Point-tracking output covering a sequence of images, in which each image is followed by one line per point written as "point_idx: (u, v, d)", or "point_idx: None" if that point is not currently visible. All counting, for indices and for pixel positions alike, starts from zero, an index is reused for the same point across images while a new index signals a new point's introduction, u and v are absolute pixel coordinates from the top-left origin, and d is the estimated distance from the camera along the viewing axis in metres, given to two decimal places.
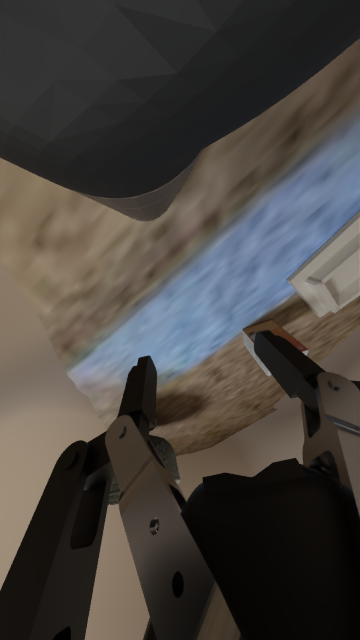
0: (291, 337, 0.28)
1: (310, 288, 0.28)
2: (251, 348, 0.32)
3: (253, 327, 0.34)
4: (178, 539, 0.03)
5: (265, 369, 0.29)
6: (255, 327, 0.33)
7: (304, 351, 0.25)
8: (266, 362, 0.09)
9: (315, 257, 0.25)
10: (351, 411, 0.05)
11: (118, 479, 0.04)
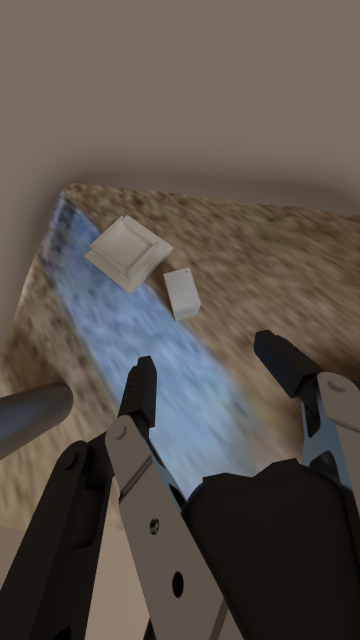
0: None
1: (137, 274, 0.35)
2: (185, 315, 0.30)
3: None
4: (178, 539, 0.03)
5: (193, 307, 0.25)
6: None
7: (164, 277, 0.25)
8: (266, 362, 0.09)
9: (115, 282, 0.36)
10: (351, 411, 0.05)
11: (118, 479, 0.04)
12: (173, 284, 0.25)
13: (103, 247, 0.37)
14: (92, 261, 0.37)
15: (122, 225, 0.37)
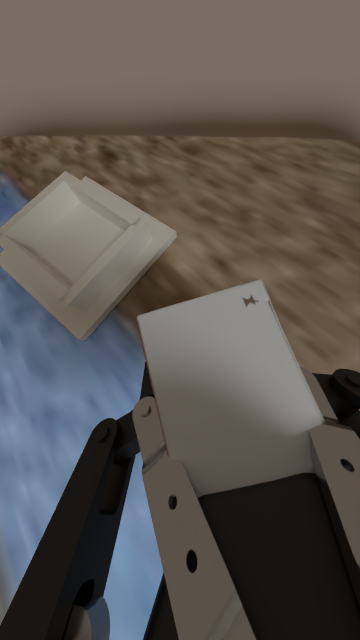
0: None
1: (98, 294, 0.16)
2: None
3: None
4: (178, 539, 0.03)
5: None
6: None
7: (143, 336, 0.05)
8: None
9: (50, 312, 0.16)
10: None
11: (142, 451, 0.05)
12: (190, 374, 0.05)
13: (31, 239, 0.18)
14: (8, 269, 0.18)
15: (70, 192, 0.18)
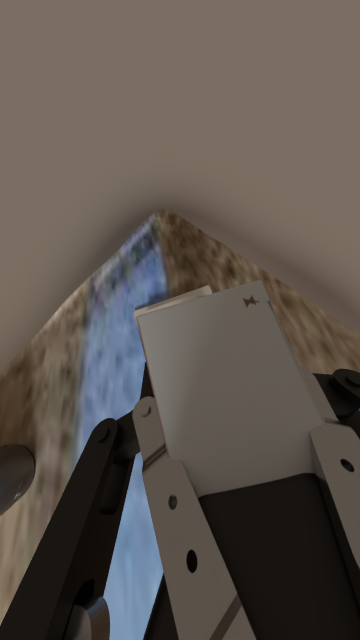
0: None
1: None
2: None
3: None
4: (178, 539, 0.03)
5: None
6: None
7: (144, 336, 0.05)
8: None
9: None
10: None
11: (142, 451, 0.05)
12: (190, 375, 0.05)
13: None
14: None
15: None
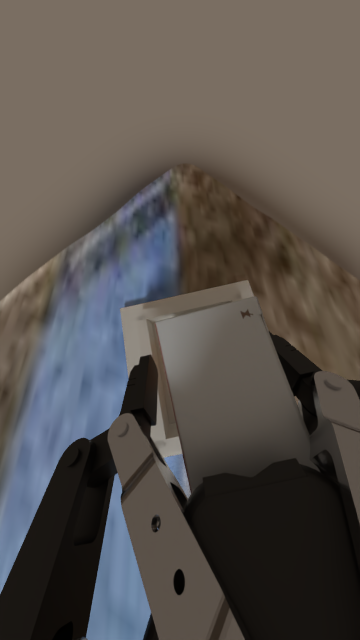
0: None
1: None
2: None
3: None
4: (178, 539, 0.03)
5: None
6: None
7: (161, 338, 0.07)
8: None
9: None
10: (347, 410, 0.05)
11: (120, 476, 0.05)
12: (196, 370, 0.06)
13: (161, 319, 0.17)
14: (126, 330, 0.17)
15: None
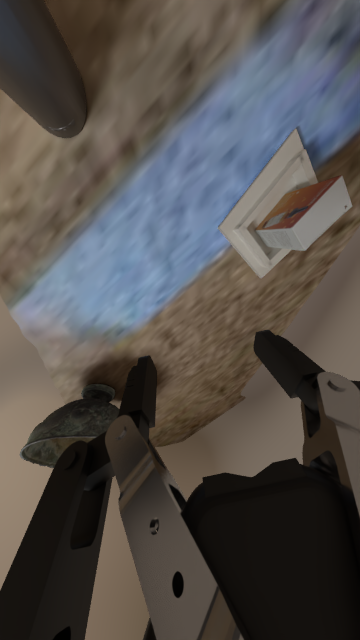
0: (314, 185, 0.21)
1: (240, 238, 0.30)
2: (272, 239, 0.27)
3: (265, 218, 0.28)
4: (178, 539, 0.03)
5: (297, 245, 0.23)
6: (268, 216, 0.28)
7: (335, 182, 0.19)
8: (266, 362, 0.09)
9: (238, 202, 0.27)
10: (352, 411, 0.05)
11: (118, 479, 0.04)
12: (326, 203, 0.20)
13: (295, 175, 0.25)
14: (280, 152, 0.24)
15: None
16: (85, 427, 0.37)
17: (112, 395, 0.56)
